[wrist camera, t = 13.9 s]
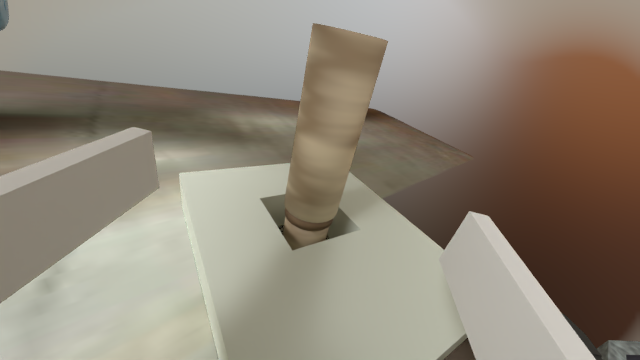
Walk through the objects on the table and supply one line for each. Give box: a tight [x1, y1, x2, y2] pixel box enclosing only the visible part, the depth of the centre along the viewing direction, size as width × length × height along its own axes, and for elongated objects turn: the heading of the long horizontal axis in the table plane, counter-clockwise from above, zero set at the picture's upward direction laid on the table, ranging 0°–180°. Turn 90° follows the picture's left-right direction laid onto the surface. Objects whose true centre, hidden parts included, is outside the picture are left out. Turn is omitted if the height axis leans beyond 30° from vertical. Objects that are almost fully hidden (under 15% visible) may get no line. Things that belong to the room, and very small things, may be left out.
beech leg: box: [282, 23, 388, 250], centre depth 19 cm, size 5×5×18 cm
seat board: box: [179, 163, 468, 360], centre depth 22 cm, size 22×18×4 cm
